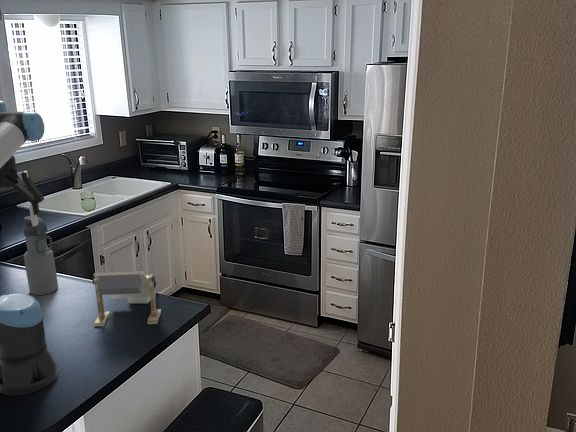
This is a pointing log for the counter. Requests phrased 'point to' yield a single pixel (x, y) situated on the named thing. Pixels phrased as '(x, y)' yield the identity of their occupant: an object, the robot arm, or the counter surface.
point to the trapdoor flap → (123, 284)
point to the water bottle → (39, 259)
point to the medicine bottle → (140, 299)
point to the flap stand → (104, 316)
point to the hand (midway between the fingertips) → (12, 225)
